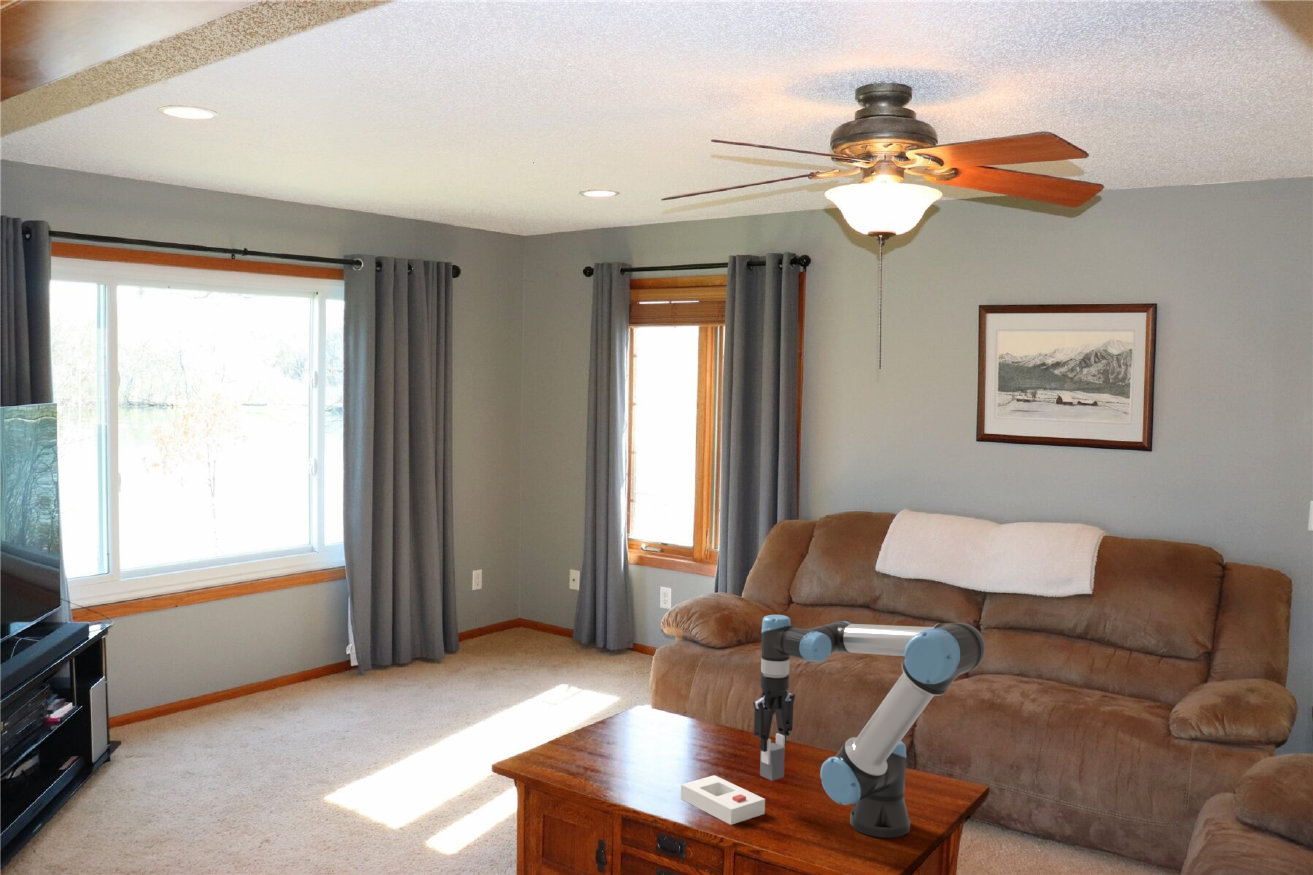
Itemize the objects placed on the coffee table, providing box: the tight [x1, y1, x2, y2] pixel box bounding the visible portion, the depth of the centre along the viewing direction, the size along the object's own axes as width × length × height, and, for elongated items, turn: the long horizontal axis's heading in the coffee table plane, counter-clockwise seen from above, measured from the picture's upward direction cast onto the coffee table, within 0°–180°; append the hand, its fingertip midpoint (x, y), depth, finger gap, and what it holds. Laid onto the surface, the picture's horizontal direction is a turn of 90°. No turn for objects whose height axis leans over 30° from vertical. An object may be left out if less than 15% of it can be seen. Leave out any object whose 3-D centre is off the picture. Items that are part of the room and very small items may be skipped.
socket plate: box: [680, 774, 766, 826], centre depth 278 cm, size 20×12×5 cm, turn 38°
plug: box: [759, 742, 786, 782], centre depth 278 cm, size 4×4×8 cm
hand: (772, 760), depth 277 cm, fingers closed on plug, 4 cm apart
